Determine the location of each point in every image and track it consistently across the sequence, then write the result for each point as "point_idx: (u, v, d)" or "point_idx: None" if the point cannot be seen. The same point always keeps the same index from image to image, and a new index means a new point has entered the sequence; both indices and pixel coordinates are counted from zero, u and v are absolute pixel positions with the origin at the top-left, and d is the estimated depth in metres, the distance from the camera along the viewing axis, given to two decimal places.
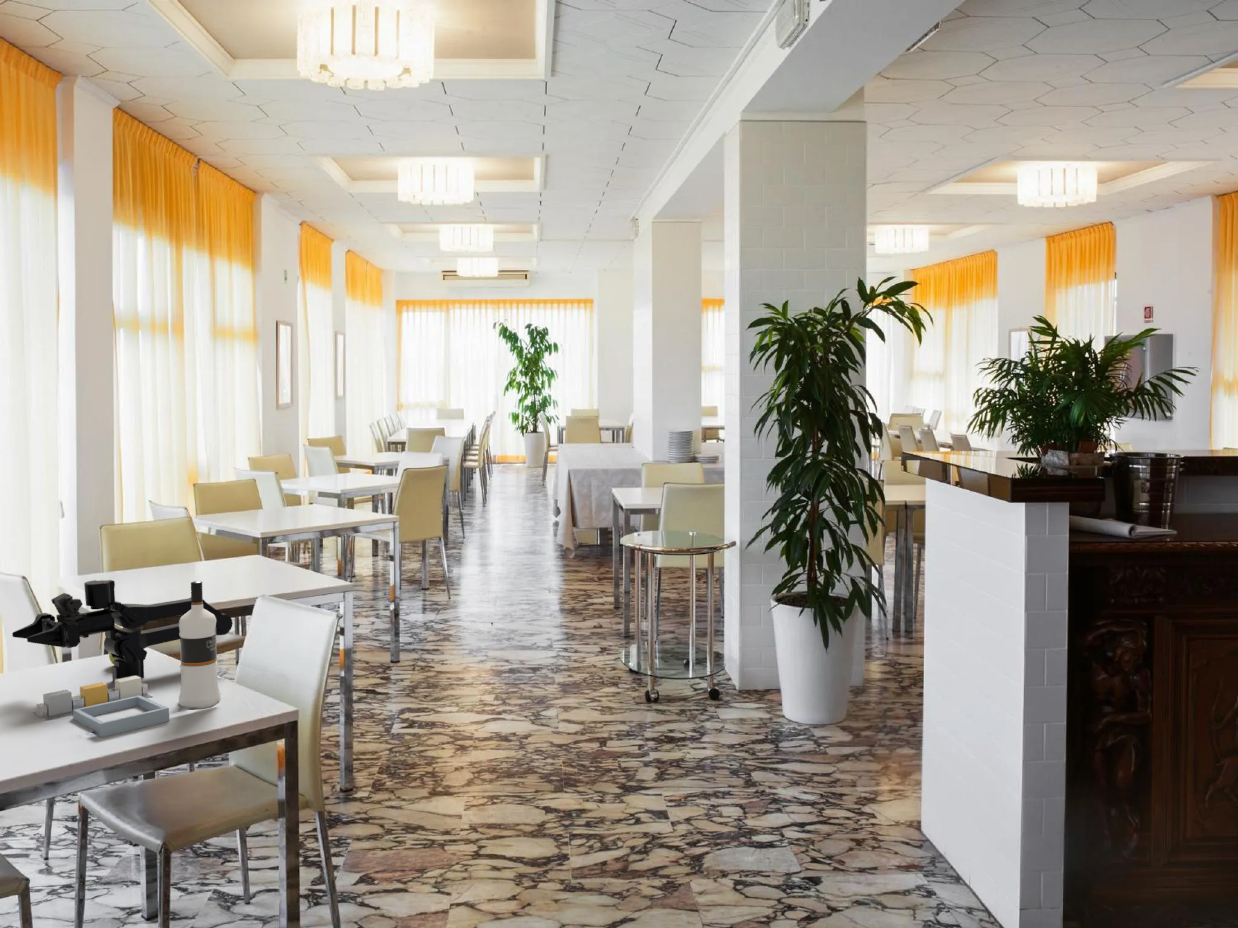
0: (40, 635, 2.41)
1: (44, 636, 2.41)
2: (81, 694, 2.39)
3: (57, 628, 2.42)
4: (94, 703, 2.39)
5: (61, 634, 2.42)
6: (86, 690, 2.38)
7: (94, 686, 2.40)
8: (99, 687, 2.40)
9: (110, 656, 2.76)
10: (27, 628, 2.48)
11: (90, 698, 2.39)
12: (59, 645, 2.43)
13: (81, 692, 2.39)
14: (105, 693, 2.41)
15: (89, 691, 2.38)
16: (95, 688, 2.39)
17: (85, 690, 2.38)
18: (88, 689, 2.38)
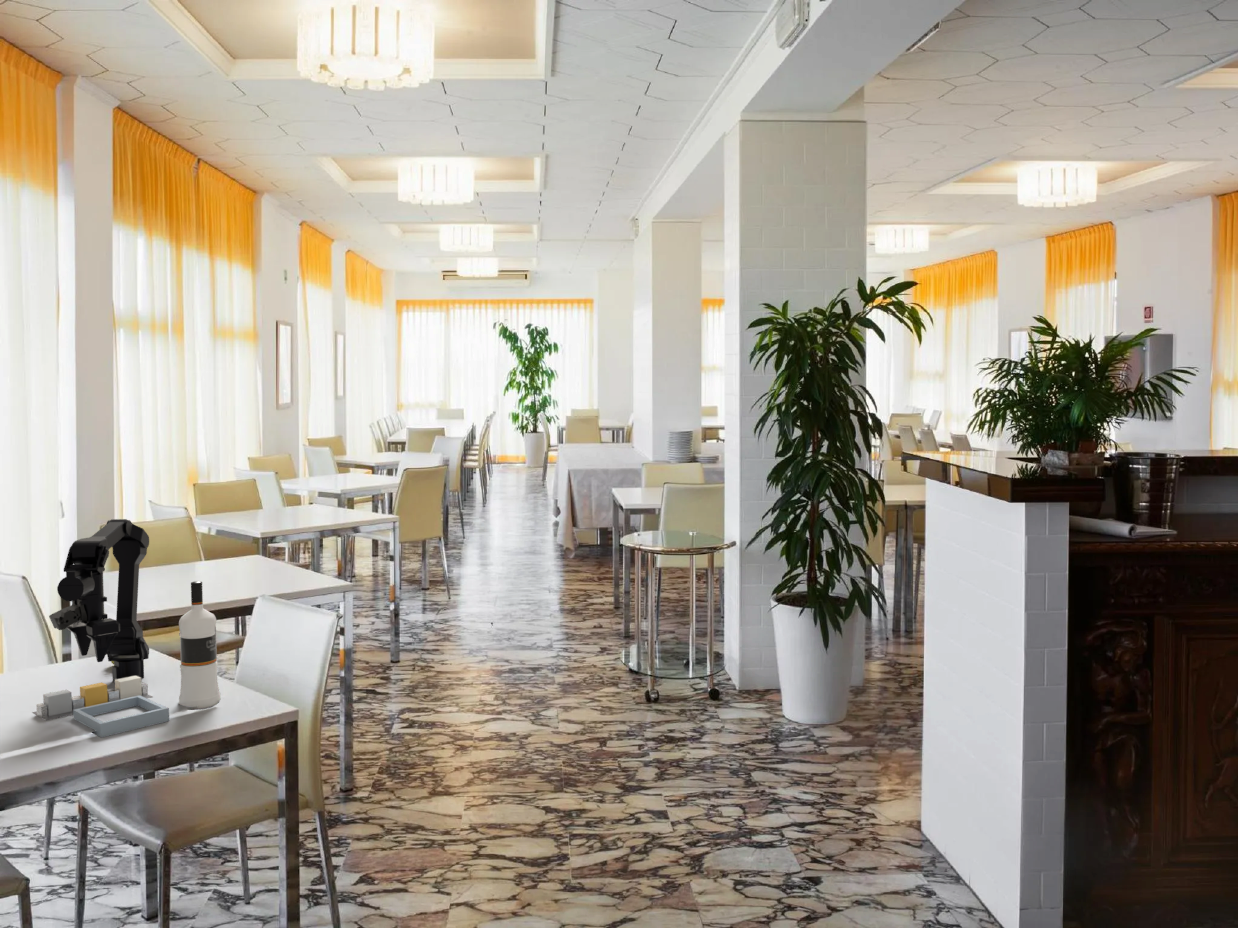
0: (98, 651, 2.36)
1: (100, 648, 2.36)
2: (81, 694, 2.39)
3: (95, 638, 2.34)
4: (94, 703, 2.39)
5: (103, 636, 2.34)
6: (86, 690, 2.38)
7: (94, 686, 2.40)
8: (99, 687, 2.40)
9: None
10: (80, 642, 2.42)
11: (90, 698, 2.39)
12: (113, 635, 2.37)
13: (81, 692, 2.39)
14: (105, 693, 2.41)
15: (89, 691, 2.38)
16: (95, 688, 2.39)
17: (85, 690, 2.38)
18: (88, 689, 2.38)
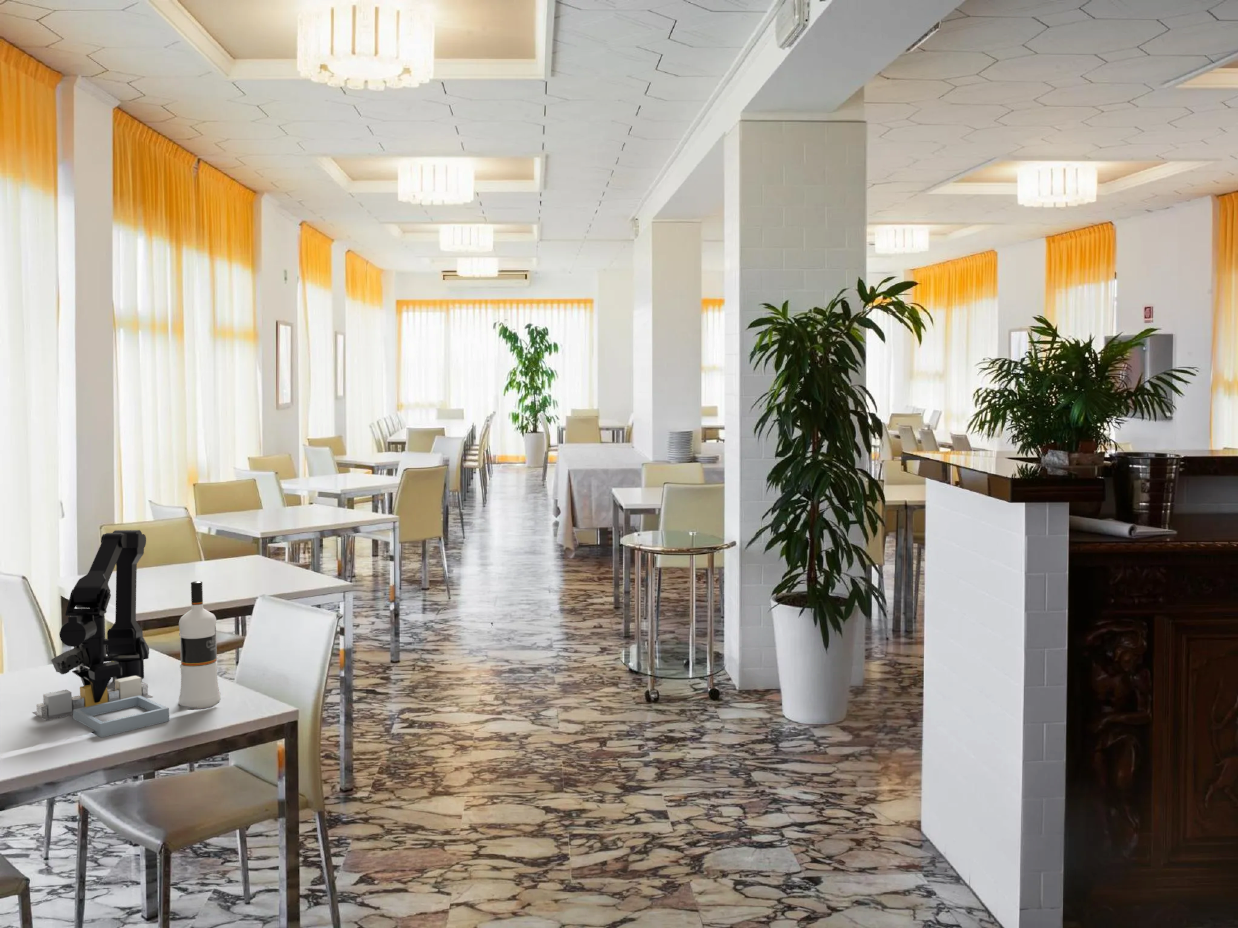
0: (95, 692, 2.38)
1: (97, 689, 2.39)
2: (81, 694, 2.39)
3: (92, 680, 2.37)
4: (94, 703, 2.39)
5: None
6: (86, 690, 2.38)
7: None
8: None
9: None
10: None
11: (90, 698, 2.39)
12: None
13: (81, 692, 2.39)
14: (105, 693, 2.41)
15: (89, 691, 2.38)
16: None
17: (85, 690, 2.38)
18: (88, 689, 2.38)
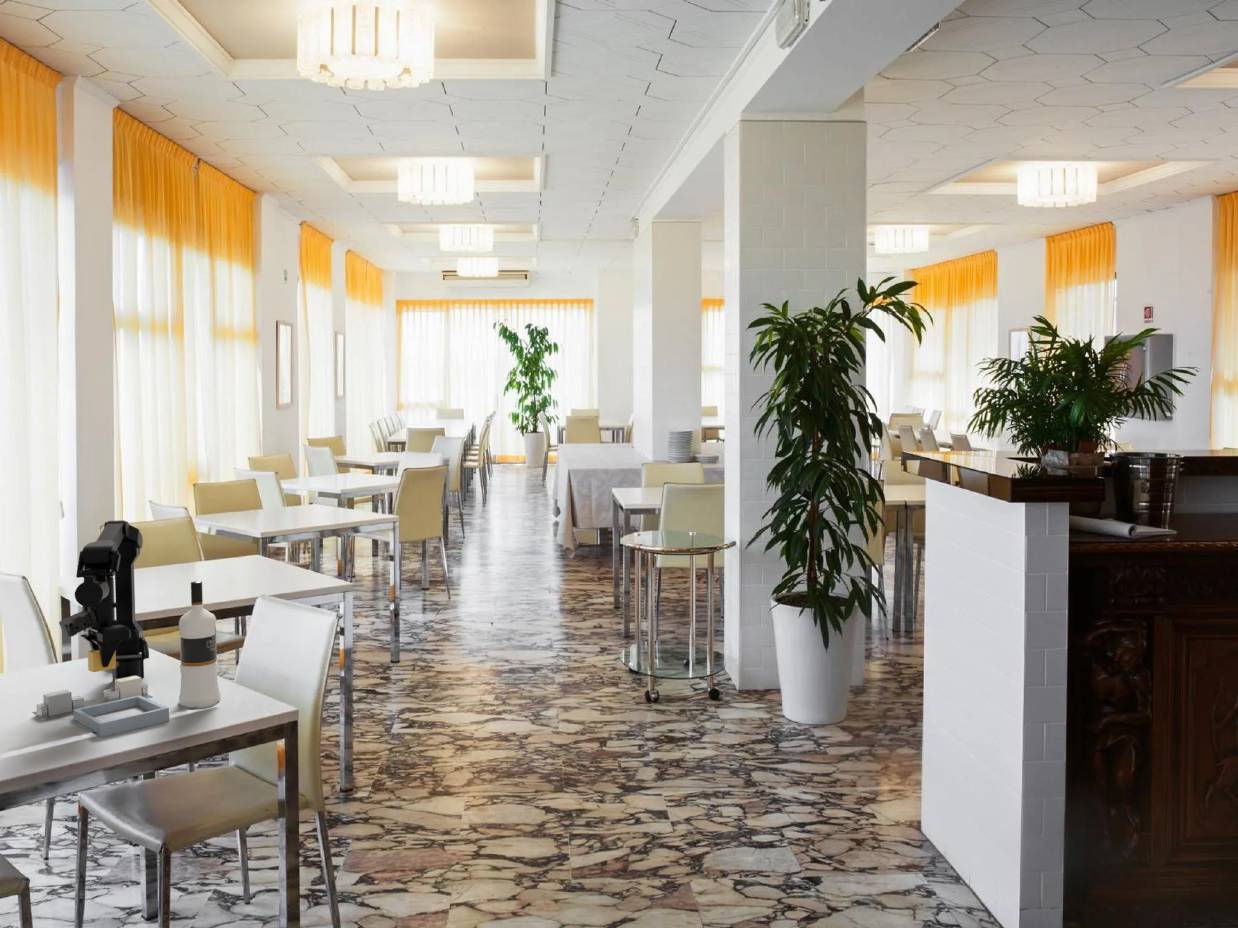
0: (103, 656, 2.33)
1: (105, 653, 2.33)
2: (89, 658, 2.34)
3: (100, 643, 2.32)
4: (102, 667, 2.34)
5: None
6: (94, 654, 2.33)
7: None
8: None
9: None
10: None
11: (98, 662, 2.34)
12: (119, 640, 2.35)
13: (89, 656, 2.34)
14: (113, 658, 2.36)
15: (97, 655, 2.33)
16: None
17: (92, 654, 2.33)
18: (96, 653, 2.33)
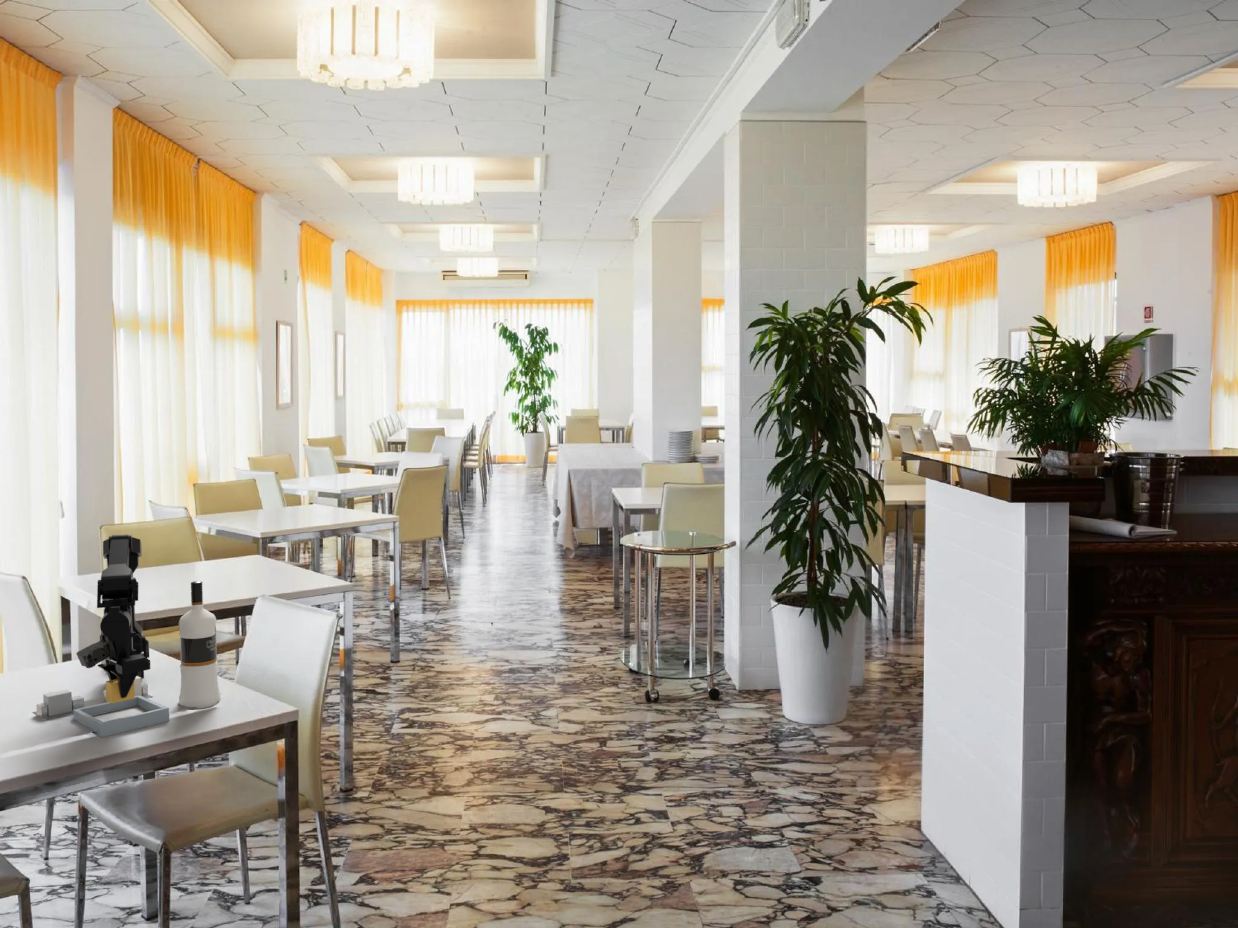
0: (122, 687, 2.28)
1: (124, 684, 2.28)
2: (107, 689, 2.29)
3: (119, 674, 2.27)
4: (120, 698, 2.29)
5: None
6: (112, 685, 2.28)
7: None
8: None
9: None
10: None
11: (116, 693, 2.29)
12: None
13: (107, 687, 2.29)
14: (132, 688, 2.31)
15: (115, 686, 2.28)
16: None
17: (111, 685, 2.28)
18: (114, 684, 2.28)
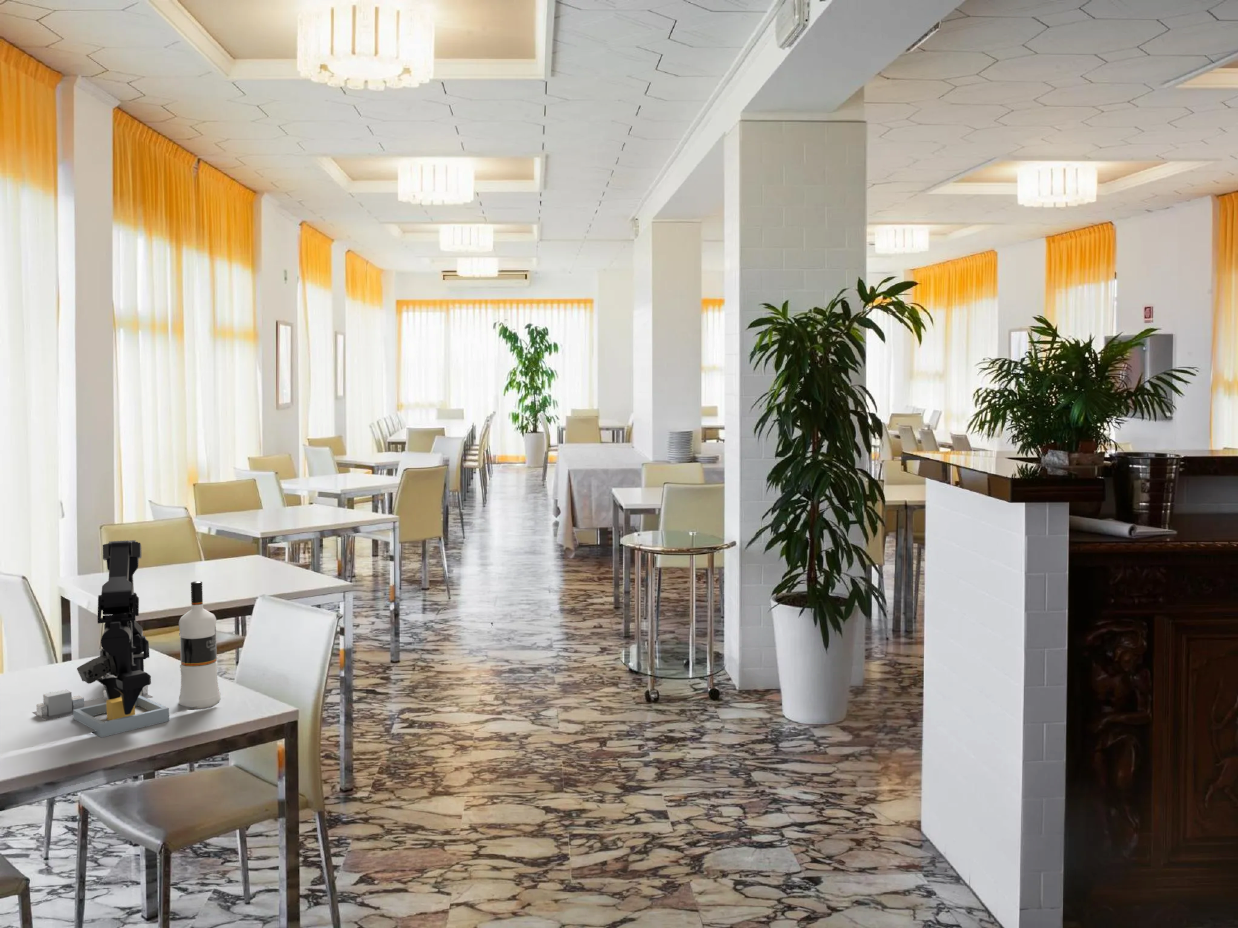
0: (126, 704, 2.27)
1: (128, 700, 2.27)
2: (108, 708, 2.29)
3: (123, 691, 2.26)
4: (121, 717, 2.30)
5: (131, 689, 2.26)
6: (113, 704, 2.28)
7: (121, 699, 2.30)
8: None
9: None
10: (110, 694, 2.32)
11: (117, 712, 2.29)
12: (142, 687, 2.29)
13: (108, 706, 2.29)
14: None
15: (116, 705, 2.29)
16: None
17: (111, 704, 2.28)
18: (115, 703, 2.28)
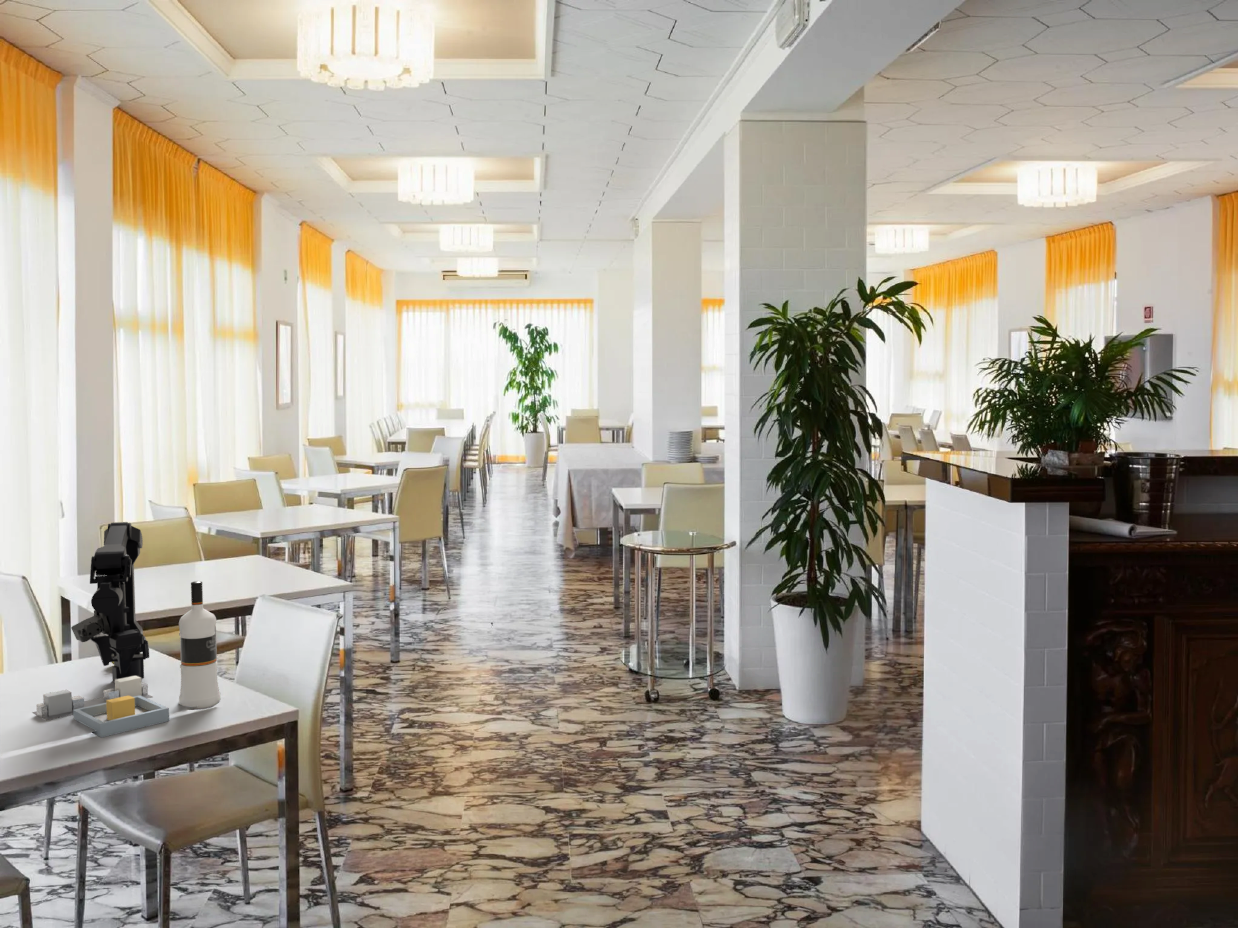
0: (121, 663, 2.33)
1: (123, 660, 2.33)
2: (108, 708, 2.29)
3: (118, 651, 2.31)
4: (121, 717, 2.30)
5: (126, 649, 2.31)
6: (113, 704, 2.28)
7: (121, 699, 2.30)
8: (126, 700, 2.30)
9: None
10: (101, 652, 2.39)
11: (117, 712, 2.29)
12: (137, 647, 2.34)
13: (108, 706, 2.29)
14: (132, 707, 2.31)
15: (116, 705, 2.29)
16: (122, 701, 2.30)
17: (111, 704, 2.28)
18: (115, 703, 2.28)
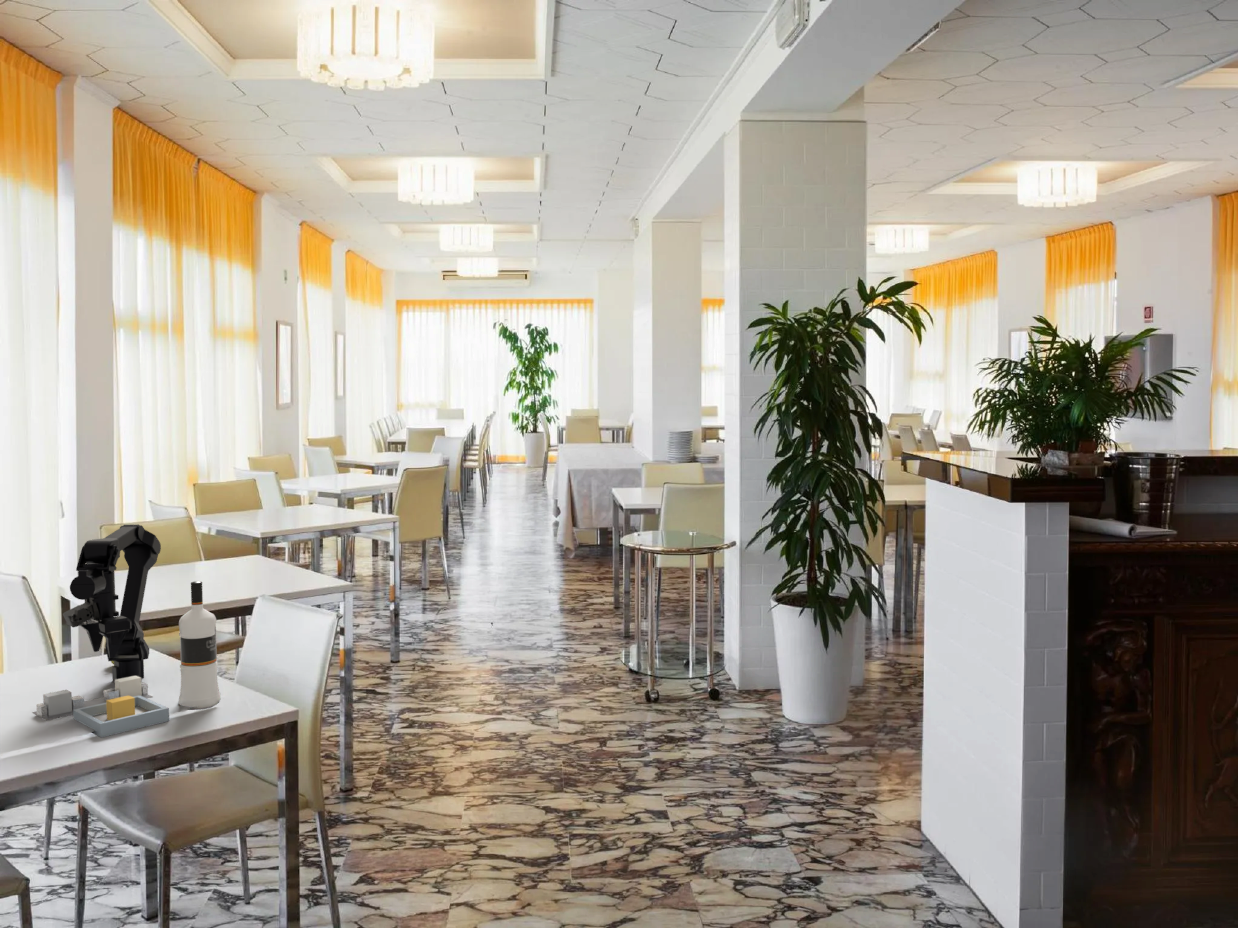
0: (110, 648, 2.44)
1: (112, 645, 2.44)
2: (108, 708, 2.29)
3: (107, 635, 2.42)
4: (121, 717, 2.30)
5: (115, 633, 2.42)
6: (113, 704, 2.28)
7: (121, 699, 2.30)
8: (126, 700, 2.30)
9: None
10: (92, 638, 2.50)
11: (117, 712, 2.29)
12: (125, 632, 2.45)
13: (108, 706, 2.29)
14: (132, 707, 2.31)
15: (116, 705, 2.29)
16: (122, 701, 2.30)
17: (111, 704, 2.28)
18: (115, 703, 2.28)
